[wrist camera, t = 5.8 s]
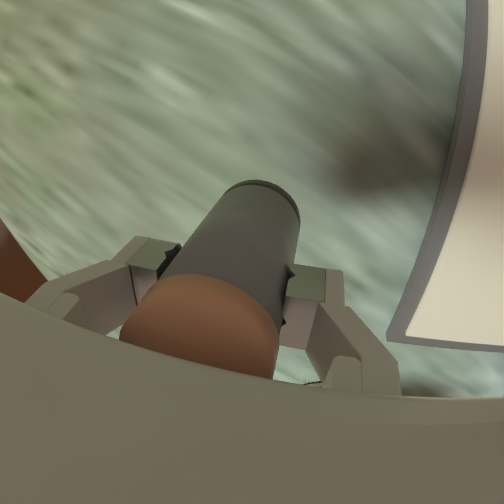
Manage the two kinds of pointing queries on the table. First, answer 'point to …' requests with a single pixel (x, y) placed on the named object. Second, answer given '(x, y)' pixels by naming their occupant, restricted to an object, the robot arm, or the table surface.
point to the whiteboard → (465, 211)
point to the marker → (225, 285)
